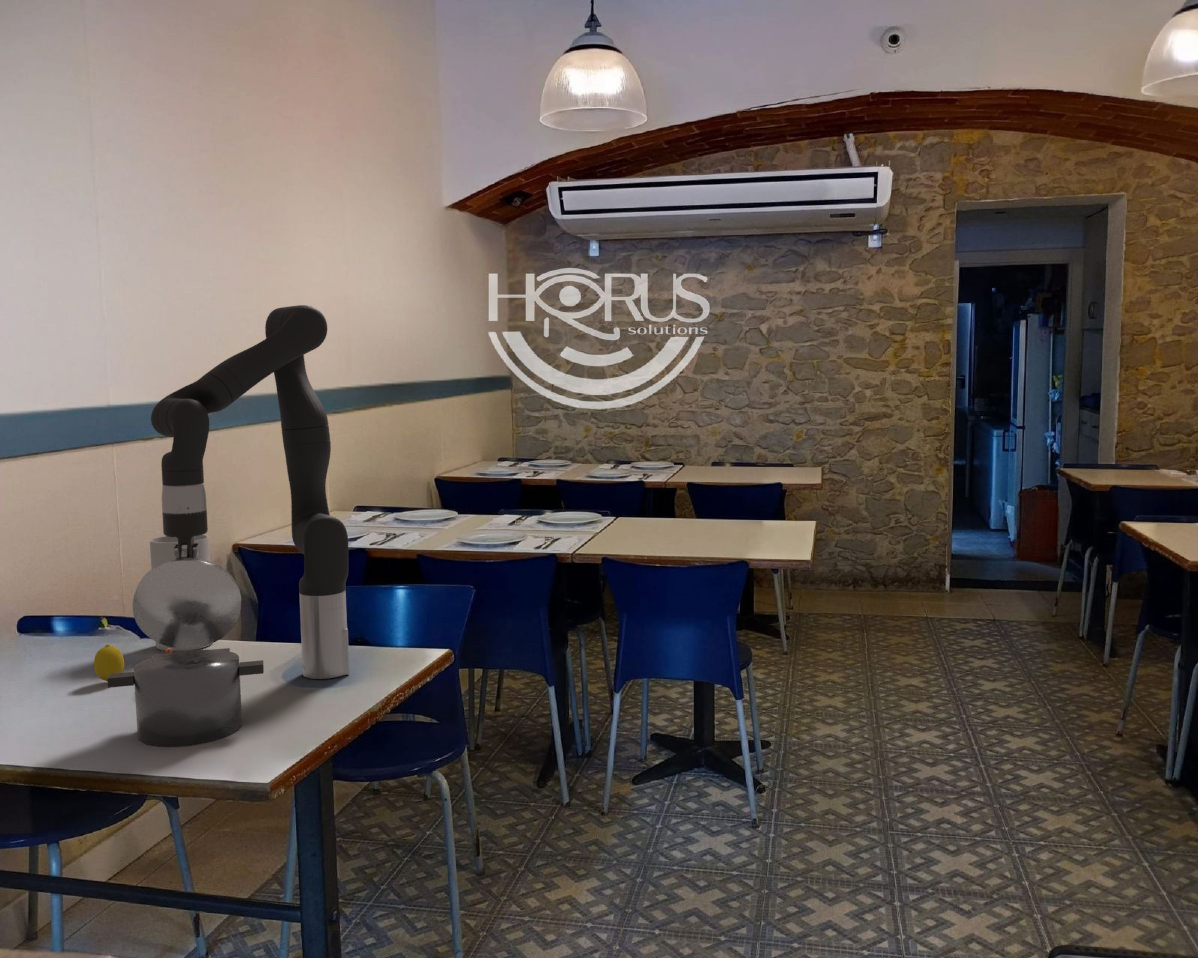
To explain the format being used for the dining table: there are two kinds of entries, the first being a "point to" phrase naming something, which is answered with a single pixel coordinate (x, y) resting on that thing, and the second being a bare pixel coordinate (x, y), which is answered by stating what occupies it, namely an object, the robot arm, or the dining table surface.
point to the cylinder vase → (165, 552)
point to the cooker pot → (187, 696)
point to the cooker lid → (186, 603)
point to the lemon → (108, 662)
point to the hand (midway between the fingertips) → (189, 602)
